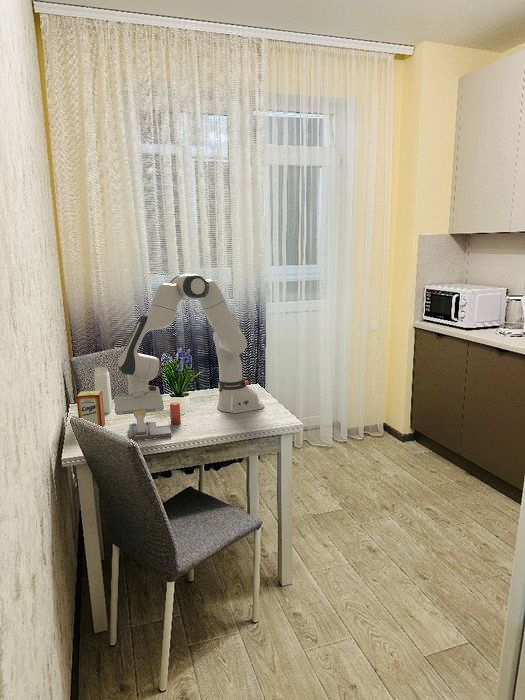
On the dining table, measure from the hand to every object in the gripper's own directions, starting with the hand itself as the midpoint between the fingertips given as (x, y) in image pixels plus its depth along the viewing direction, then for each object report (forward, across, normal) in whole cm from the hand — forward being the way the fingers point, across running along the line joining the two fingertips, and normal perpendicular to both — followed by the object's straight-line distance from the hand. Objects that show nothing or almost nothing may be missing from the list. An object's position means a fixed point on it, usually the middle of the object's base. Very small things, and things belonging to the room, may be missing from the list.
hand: (140, 421), depth 206 cm
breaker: (+5, 0, +2) cm, 5 cm away
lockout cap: (-3, +15, +12) cm, 20 cm away
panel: (+3, +4, +6) cm, 8 cm away
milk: (-21, -17, +31) cm, 41 cm away
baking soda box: (-7, -21, +17) cm, 28 cm away
